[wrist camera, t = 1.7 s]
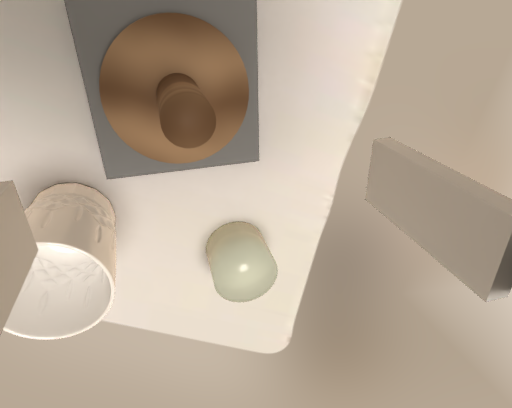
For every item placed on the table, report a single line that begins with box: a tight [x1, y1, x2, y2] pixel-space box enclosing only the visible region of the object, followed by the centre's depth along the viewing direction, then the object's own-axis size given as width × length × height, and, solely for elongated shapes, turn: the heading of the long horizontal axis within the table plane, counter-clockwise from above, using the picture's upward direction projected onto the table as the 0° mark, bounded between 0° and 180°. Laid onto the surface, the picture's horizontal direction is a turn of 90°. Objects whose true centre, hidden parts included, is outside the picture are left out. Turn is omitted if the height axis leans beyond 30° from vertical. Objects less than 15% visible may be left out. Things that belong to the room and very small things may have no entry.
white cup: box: [3, 183, 116, 340], centre depth 27 cm, size 8×8×10 cm
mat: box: [64, 0, 259, 179], centre depth 28 cm, size 13×13×1 cm
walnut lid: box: [99, 13, 249, 164], centre depth 25 cm, size 11×11×8 cm
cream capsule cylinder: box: [206, 222, 278, 302], centre depth 35 cm, size 6×6×5 cm
